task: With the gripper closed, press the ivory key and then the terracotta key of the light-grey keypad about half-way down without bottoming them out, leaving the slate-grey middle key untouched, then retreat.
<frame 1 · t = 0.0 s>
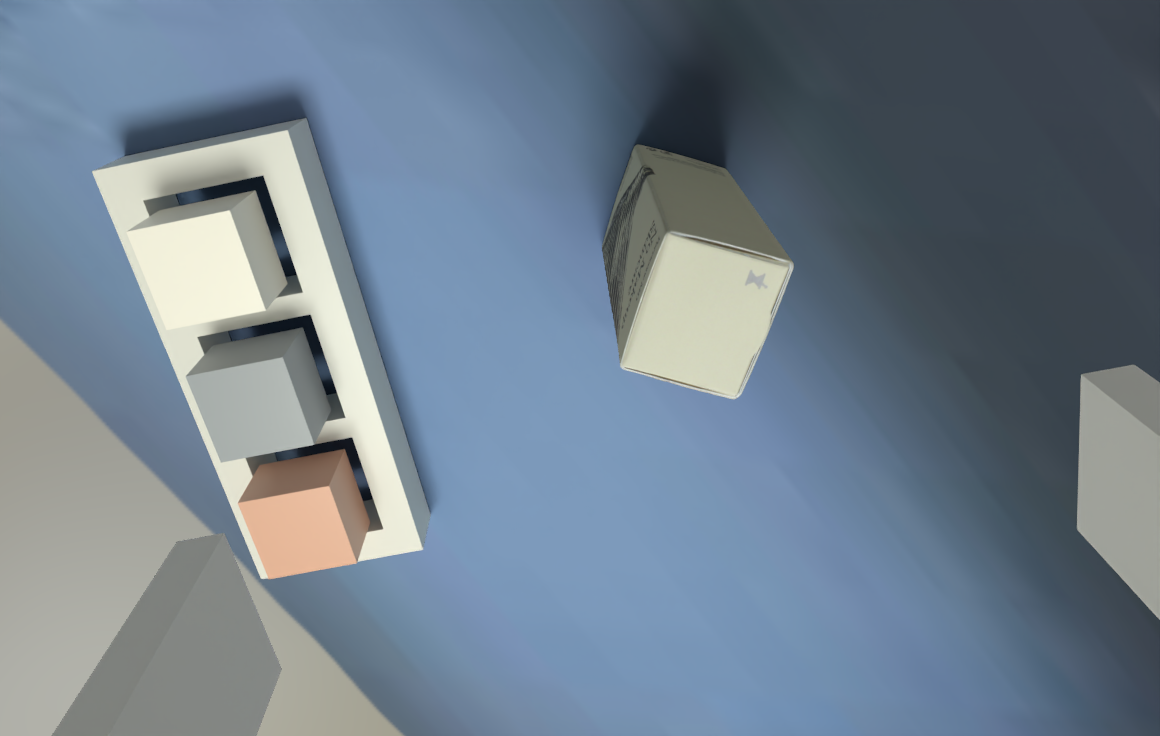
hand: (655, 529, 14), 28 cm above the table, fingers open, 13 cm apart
key ivory: (211, 259, 36), point 5 cm above the table, slide at 0.0 cm
box: (662, 211, 41), on the table
keypad housing: (290, 351, 43), on the table
key terracotta: (307, 513, 41), point 5 cm above the table, slide at 0.0 cm
key slate: (262, 394, 39), point 5 cm above the table, slide at 0.0 cm
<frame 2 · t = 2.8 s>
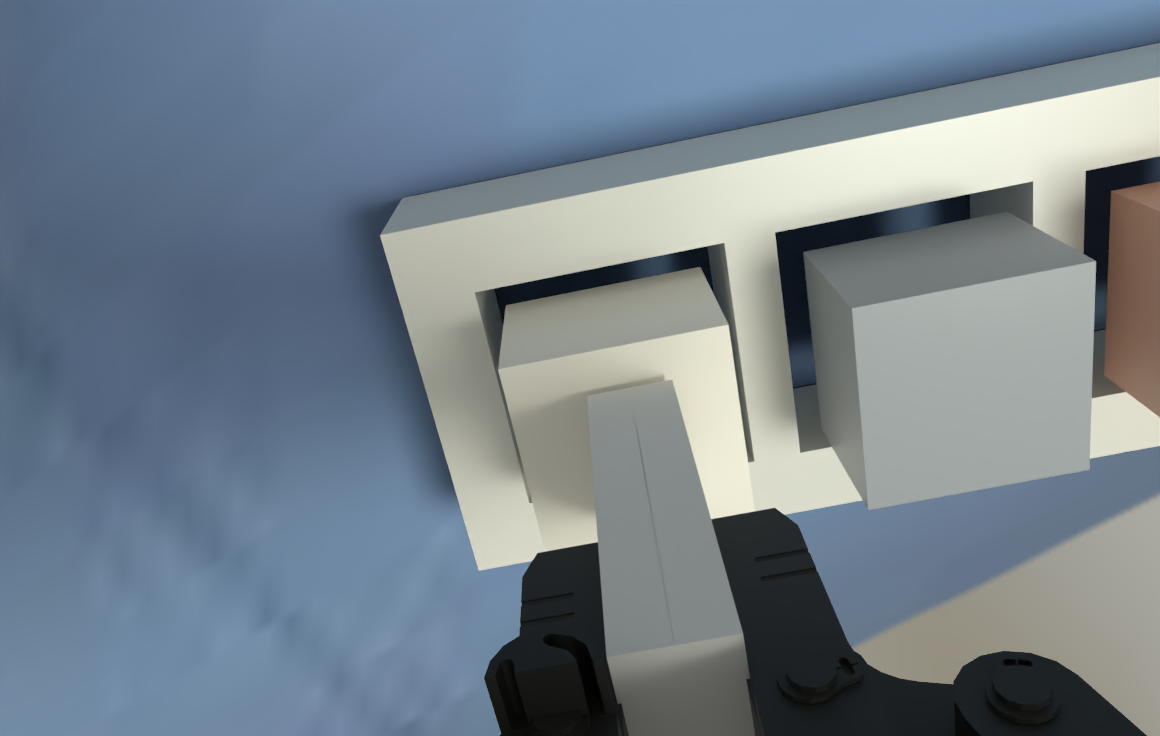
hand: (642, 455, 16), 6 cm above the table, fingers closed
key ivory: (625, 408, 18), point 4 cm above the table, slide at 0.3 cm, touching gripper
keypad housing: (864, 278, 22), on the table
key slate: (940, 356, 17), point 5 cm above the table, slide at 0.0 cm
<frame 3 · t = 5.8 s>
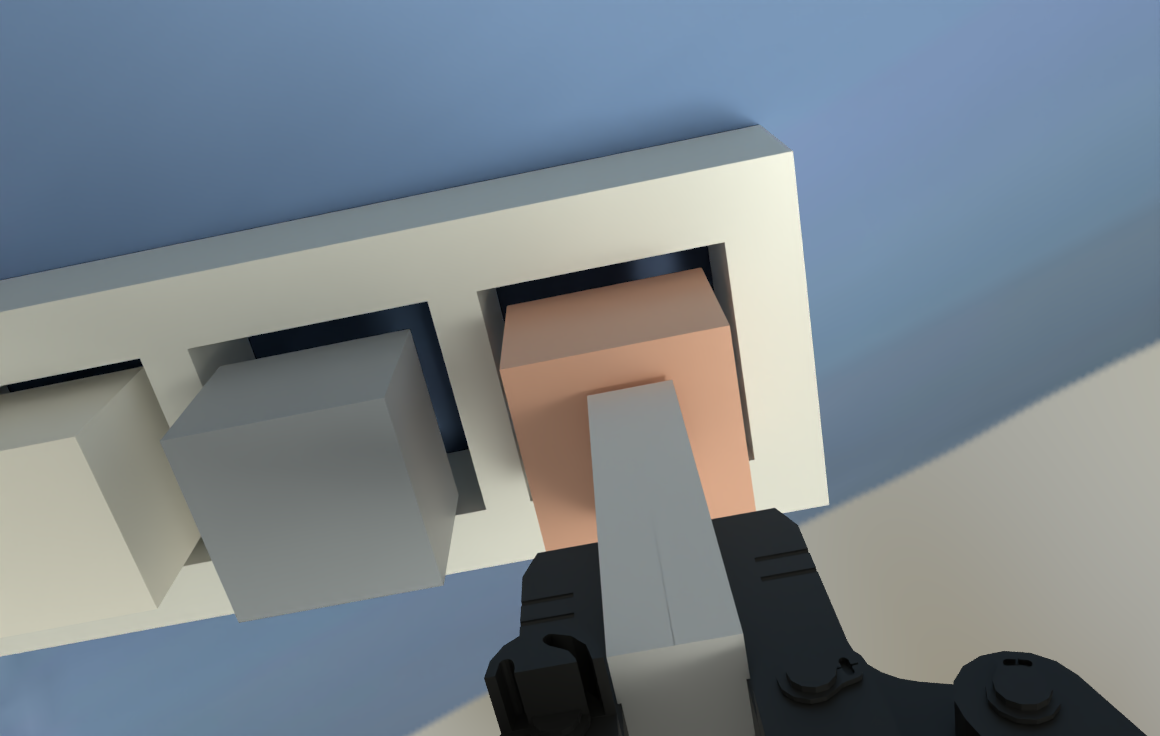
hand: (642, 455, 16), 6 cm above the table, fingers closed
key ivory: (59, 500, 19), point 4 cm above the table, slide at 1.0 cm
keypad housing: (368, 374, 22), on the table
key terracotta: (626, 408, 18), point 4 cm above the table, slide at 0.2 cm, touching gripper
key slate: (326, 471, 18), point 5 cm above the table, slide at 0.0 cm
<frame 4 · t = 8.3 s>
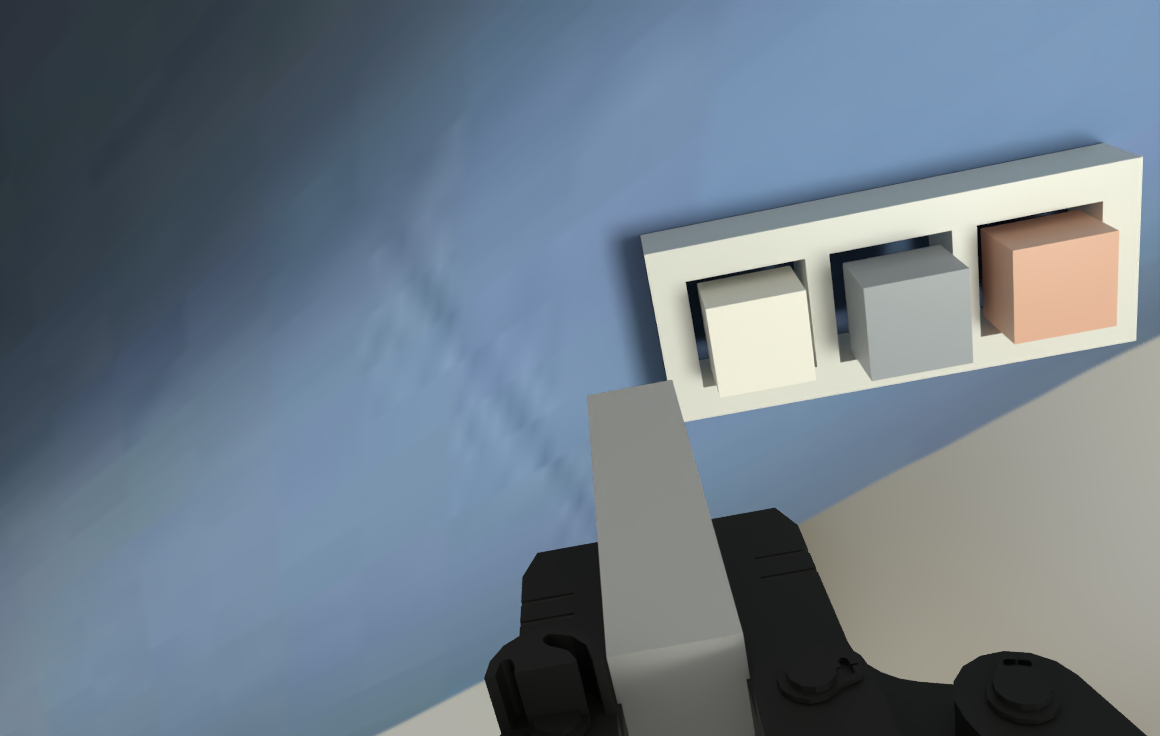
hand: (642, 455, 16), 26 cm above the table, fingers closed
key ivory: (755, 330, 39), point 4 cm above the table, slide at 1.0 cm
keypad housing: (874, 276, 42), on the table
key terracotta: (1047, 276, 38), point 4 cm above the table, slide at 0.9 cm
key slate: (906, 311, 38), point 5 cm above the table, slide at 0.0 cm
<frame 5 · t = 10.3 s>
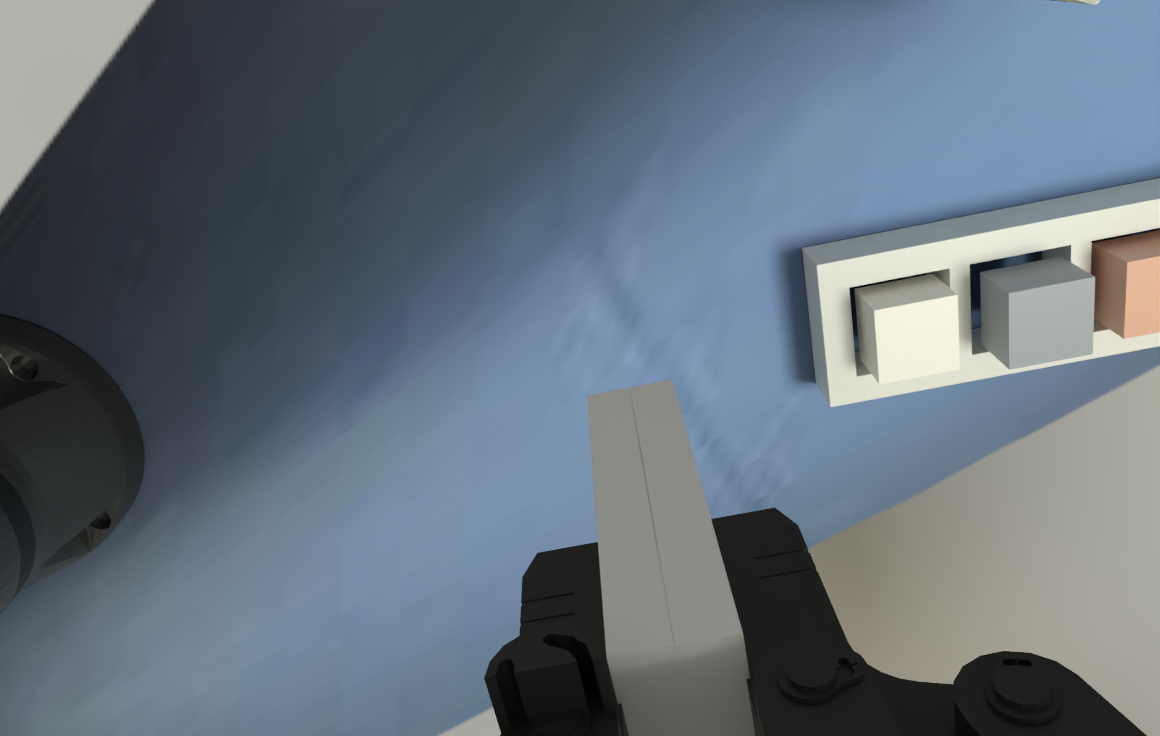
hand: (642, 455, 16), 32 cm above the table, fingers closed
key ivory: (906, 328, 47), point 4 cm above the table, slide at 1.0 cm
keypad housing: (994, 282, 50), on the table
key terracotta: (1148, 282, 46), point 4 cm above the table, slide at 0.9 cm
key slate: (1035, 312, 46), point 5 cm above the table, slide at 0.0 cm
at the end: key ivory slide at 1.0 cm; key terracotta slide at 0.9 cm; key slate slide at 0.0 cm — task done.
